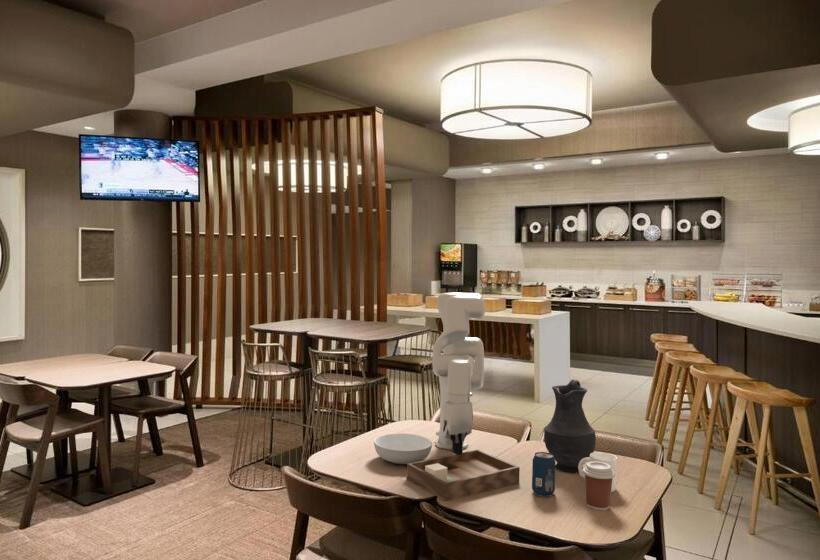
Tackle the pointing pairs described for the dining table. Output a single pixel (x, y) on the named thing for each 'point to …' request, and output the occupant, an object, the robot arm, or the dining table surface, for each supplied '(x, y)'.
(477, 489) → the trap box
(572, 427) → the pitcher
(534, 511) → the dining table surface
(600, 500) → the coffee cup
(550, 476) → the soda can
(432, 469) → the block
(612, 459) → the mug
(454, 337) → the robot arm
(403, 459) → the serving bowl
